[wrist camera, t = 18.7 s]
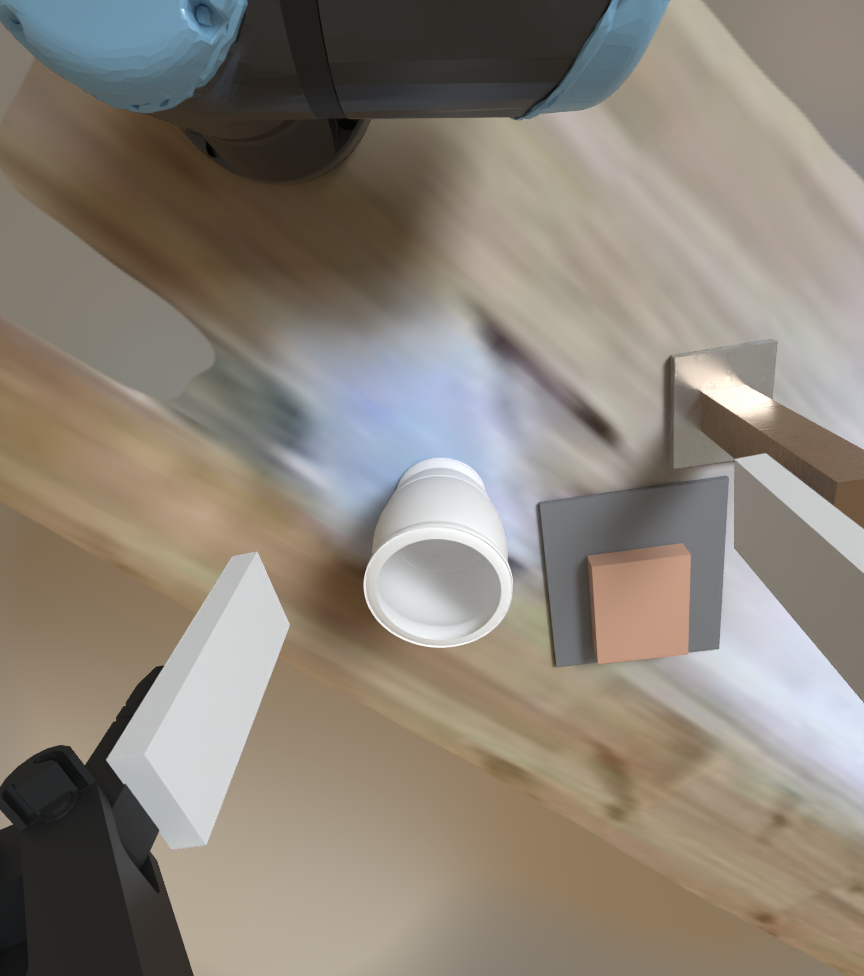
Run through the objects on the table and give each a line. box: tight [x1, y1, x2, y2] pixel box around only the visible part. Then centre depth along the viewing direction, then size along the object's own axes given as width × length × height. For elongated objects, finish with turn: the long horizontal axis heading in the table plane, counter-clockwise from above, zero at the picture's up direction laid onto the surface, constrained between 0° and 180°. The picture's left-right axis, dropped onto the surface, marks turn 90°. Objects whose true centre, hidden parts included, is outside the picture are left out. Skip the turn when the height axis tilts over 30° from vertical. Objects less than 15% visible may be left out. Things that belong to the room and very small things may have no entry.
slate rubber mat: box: [539, 476, 729, 667], centre depth 56 cm, size 20×17×1 cm
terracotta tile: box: [587, 543, 691, 664], centre depth 55 cm, size 2×9×12 cm
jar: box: [364, 458, 513, 647], centre depth 46 cm, size 11×10×15 cm
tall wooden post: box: [670, 339, 864, 529], centre depth 40 cm, size 10×8×19 cm
